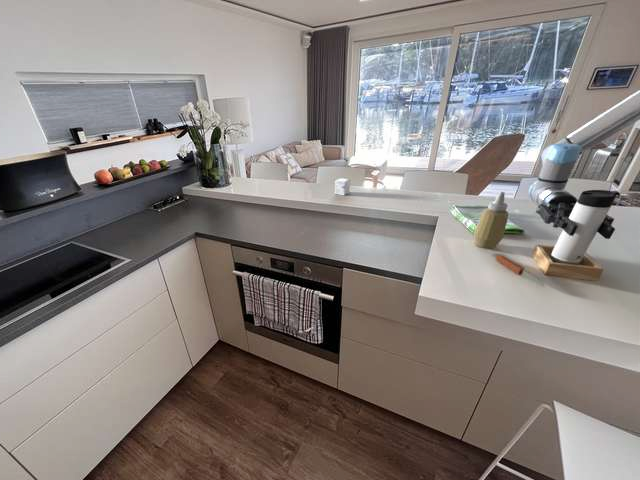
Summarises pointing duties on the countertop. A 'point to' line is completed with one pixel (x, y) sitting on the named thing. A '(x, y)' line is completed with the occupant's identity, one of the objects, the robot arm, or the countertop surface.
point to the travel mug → (583, 225)
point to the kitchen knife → (517, 269)
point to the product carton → (342, 186)
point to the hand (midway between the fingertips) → (591, 232)
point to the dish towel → (478, 218)
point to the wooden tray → (566, 265)
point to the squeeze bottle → (492, 224)
